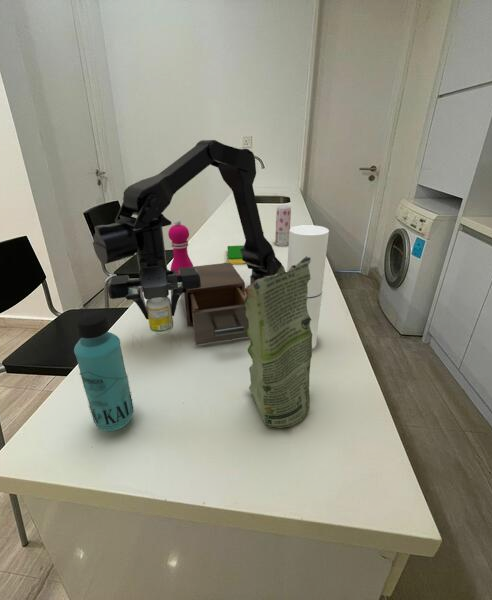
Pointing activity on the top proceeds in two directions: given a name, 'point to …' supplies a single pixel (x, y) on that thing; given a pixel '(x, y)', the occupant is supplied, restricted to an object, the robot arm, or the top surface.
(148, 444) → the top surface
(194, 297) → the drawer
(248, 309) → the pouch
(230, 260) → the dish sponge
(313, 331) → the cylindrical container
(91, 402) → the beverage bottle
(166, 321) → the supplement bottle
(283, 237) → the beverage can
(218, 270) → the cabinet
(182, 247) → the pepper mill
